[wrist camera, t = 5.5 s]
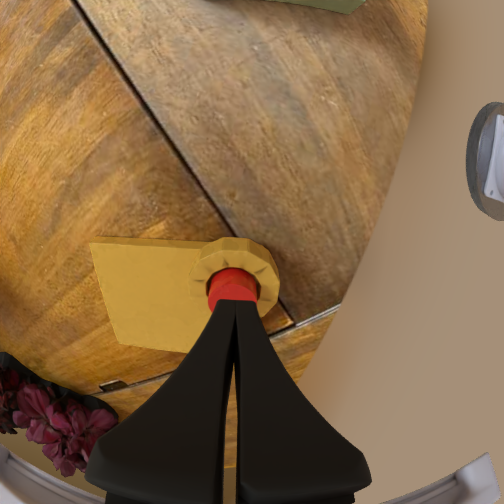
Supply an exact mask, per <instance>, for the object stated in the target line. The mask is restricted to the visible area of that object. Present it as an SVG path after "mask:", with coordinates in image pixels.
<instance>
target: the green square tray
mask: <svg viewBox="0 0 504 504" xmlns="http://www.w3.org/2000/svg"><path fill="white" fill-rule="evenodd" d="M267 1H277V2H286V3H293V4H299V5H305V6H311V7H316V8H321V9H326V10H330V11H335V12H339V13H343V14H346V15H349V14H350V13H351V12H353V11H354V10H355V9H356V8H358V7H359V6H360V5H361V4H363V3H364V2H365V0H267Z"/></svg>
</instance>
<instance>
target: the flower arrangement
mask: <svg viewBox="0 0 504 504" xmlns="http://www.w3.org/2000/svg"><path fill="white" fill-rule="evenodd" d="M117 425H118V415H117V413H116V412H115V410H114V409H112V408H111V407H110V406H109V405H108V404H106V403H105V402H104V401H102V400H99V399H97V398H95V397H92V396H88V395H83V396H81V395H79V394H77V393H75V392H73V391H71V390H69V389H66V388H63V387H61V386H58V385H56V384H54V383H52V382H49V381H46V380H44V379H41V378H40V377H38V376H37V375H36V374H34V373H33V372H31V371H30V370H29V369H27V368H26V367H25V366H23V365H22V364H21V363H20V362H18V361H17V360H16V359H15V358H14V357H13V356H11V355H9V354H8V353H6V352H0V432H1V433H3V434H5V433H6V432H8V433H10V434H17V432H16V431H15V430H14V429H13V428H21V429H23V428H28V429H27V432H26V437H27V439H28V441H34V442H36V443H38V444H46V445H44V446H43V450H42V452H43V453H44V455H45V456H46V457H47V458H49V459H50V460H51V461H52V462H53V465H54V466H55V467H56V469H57V470H58V469H59V468H60V470H61V475H63V476H64V477H68V476H73V475H74V473H75V470H76V468H78V469H79V470H80V471H81V472H84V473H85V472H86V468H87V464H88V460H89V456H90V454H91V452H92V449H93V447H94V445H95V443H96V441H97V439H98V438H99V437H101V436H102V435H104V434H105V433H107V432H108V431H109V430H111V429H112V428H114V427H115V426H117Z"/></svg>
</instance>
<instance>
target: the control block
mask: <svg viewBox="0 0 504 504" xmlns="http://www.w3.org/2000/svg"><path fill="white" fill-rule="evenodd" d="M89 245H90V249H91V254H92V258H93V262H94V266H95V270H96V274H97V278H98V281H99V285H100V289H101V292H102V295H103V299H104V302H105V305H106V308H107V312H108V315H109V318H110V321H111V323H112V326H113V329H114V332H115V335H116V337H117V340H118V343H120V344H126V345H132V346H138V347H145V348H151V349H159V350H166V351H175V352H184V353H189V351H190V350H191V348H192V347H193V345H194V344H195V342H196V341H197V339H198V338H199V336H200V334H201V333H202V331H203V329H204V328H205V326H206V324H207V322H208V320H209V318H210V316H211V314H212V312H211V310H210V309H209V306H208V296H209V291H210V286H211V281H212V279H213V277H214V276H215V275H216V274H217V273H218V272H220V271H222V270H224V269H228V268H238V269H241V270H244V271H246V272H248V273H249V274H250V275H251V276H252V277H253V278H254V280H255V282H256V286H257V309H258V313H259V316H260V317H263V316H264V315H265V314H266V313H267V312H268V311H269V310H270V309H271V308H272V307H273V306H274V305H275V304H276V303H277V300H278V294H279V288H280V279H279V273H278V267H277V266H276V264H275V262H274V260H273V258H272V256H271V254H270V252H269V251H268V250H267V249H266V248H264V247H263V245H259V244H257V243H256V242H254V241H252V240H251V239H248V238H233V237H223V238H220V239H218V240H216V241H214V242H203V241H185V240H166V239H146V238H126V237H105V236H95V237H94V238H93V240H92V241H91V242H90V243H89Z"/></svg>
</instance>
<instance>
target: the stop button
mask: <svg viewBox="0 0 504 504" xmlns="http://www.w3.org/2000/svg"><path fill="white" fill-rule="evenodd" d="M219 299H229V300H249V301H254V302H255V303H256V305H257V286H256V282H255V280H254V278H253V277H252V276H251V275H250V274H249V273H248V272H246V271H244V270H241V269H238V268H228V269H224V270H222V271H220V272H218V273H217V274H216V275H215V276H214V277H213V279H212V281H211V286H210V291H209V296H208V306H209V309H210V310H211V312H213V310H214V308H215V305H216V302H217V301H218V300H219Z"/></svg>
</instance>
